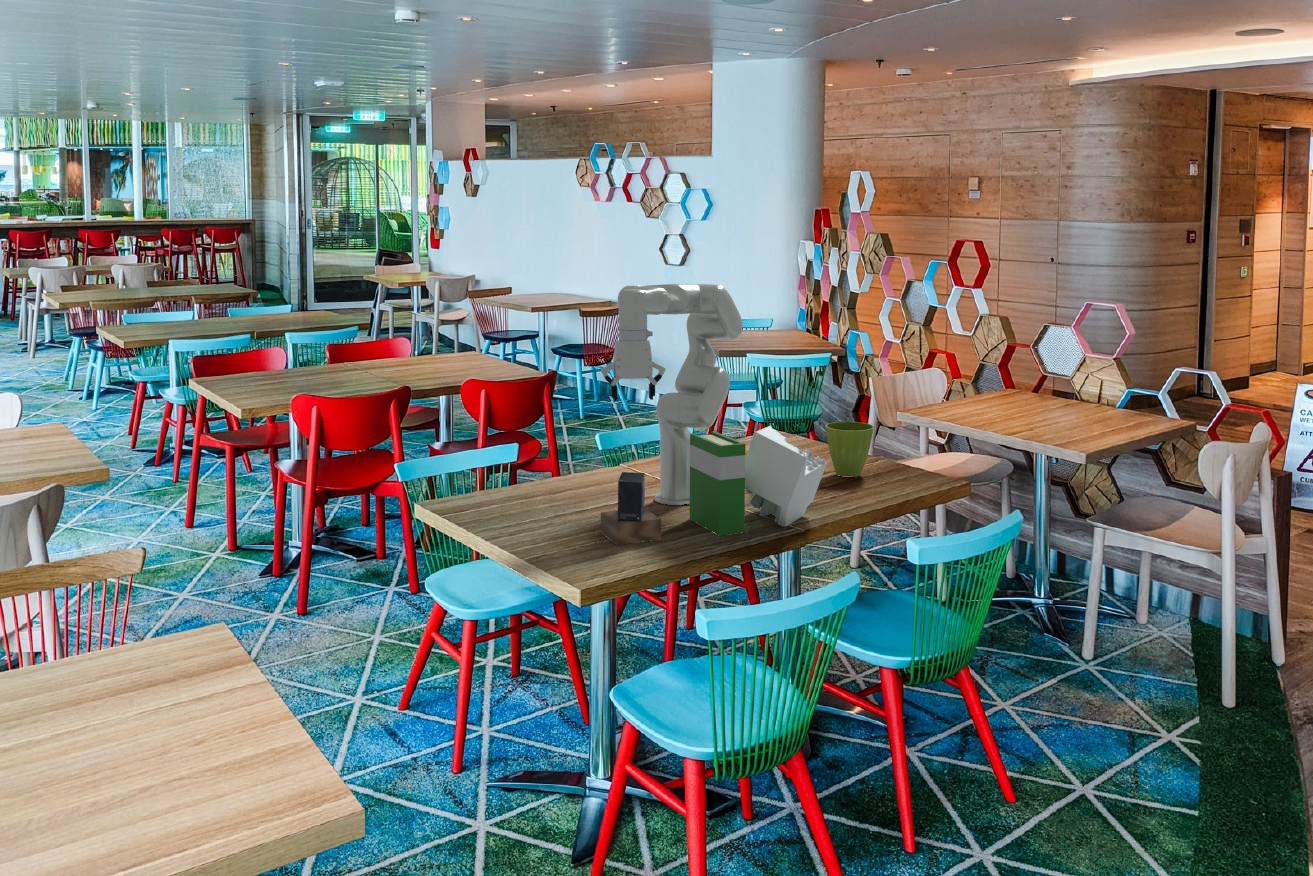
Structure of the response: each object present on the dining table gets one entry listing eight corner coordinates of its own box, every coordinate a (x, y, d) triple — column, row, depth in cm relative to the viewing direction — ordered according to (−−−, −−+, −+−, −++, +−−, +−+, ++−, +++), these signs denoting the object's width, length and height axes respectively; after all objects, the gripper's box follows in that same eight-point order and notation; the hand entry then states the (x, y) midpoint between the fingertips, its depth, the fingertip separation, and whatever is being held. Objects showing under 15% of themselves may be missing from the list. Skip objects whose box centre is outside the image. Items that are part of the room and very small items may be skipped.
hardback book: (689, 519, 317) (690, 433, 312) (713, 516, 320) (714, 431, 315) (719, 536, 301) (720, 446, 296) (744, 532, 304) (745, 443, 299)
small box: (642, 521, 294) (642, 481, 292) (616, 521, 295) (616, 481, 292) (645, 510, 305) (645, 471, 302) (620, 510, 305) (620, 471, 303)
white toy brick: (758, 496, 331) (787, 418, 321) (806, 521, 324) (837, 443, 315) (725, 513, 314) (754, 431, 304) (775, 540, 307) (806, 458, 298)
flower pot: (823, 479, 361) (825, 429, 358) (824, 469, 375) (826, 420, 372) (872, 481, 358) (874, 431, 355) (871, 471, 373) (873, 422, 370)
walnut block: (643, 529, 309) (642, 507, 308) (661, 541, 298) (661, 518, 297) (601, 534, 304) (600, 512, 303) (617, 546, 293) (617, 524, 292)
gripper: (662, 333, 312) (662, 396, 315) (599, 334, 309) (599, 398, 313) (667, 336, 304) (667, 401, 308) (602, 338, 302) (602, 402, 305)
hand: (633, 399), depth 310 cm, fingers open, 9 cm apart
